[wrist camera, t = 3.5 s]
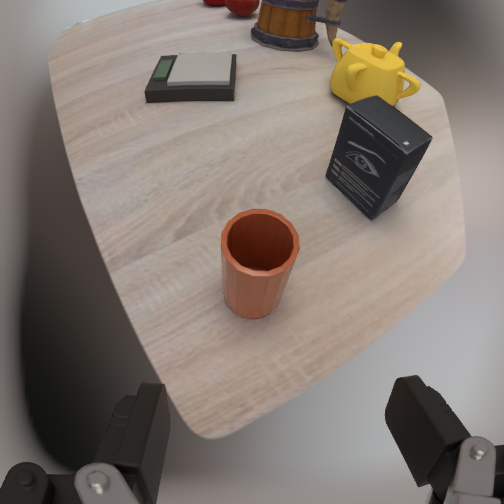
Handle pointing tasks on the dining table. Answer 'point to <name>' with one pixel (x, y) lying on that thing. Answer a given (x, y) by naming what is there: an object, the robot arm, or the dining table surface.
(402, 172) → the box
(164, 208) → the dining table surface
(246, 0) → the fruit
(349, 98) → the teapot
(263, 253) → the cup
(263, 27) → the mug
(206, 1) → the apple
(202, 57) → the scale
